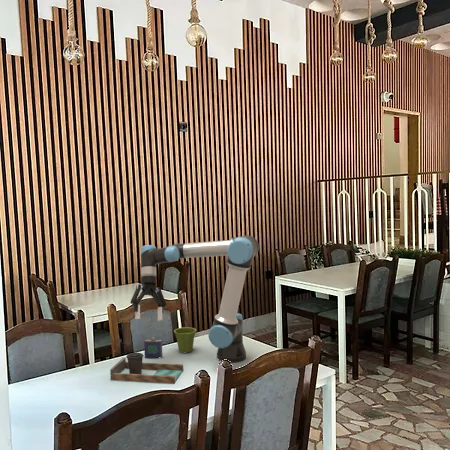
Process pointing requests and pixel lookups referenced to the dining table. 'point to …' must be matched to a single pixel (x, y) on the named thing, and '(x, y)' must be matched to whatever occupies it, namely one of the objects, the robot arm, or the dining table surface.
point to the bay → (162, 375)
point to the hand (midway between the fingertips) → (149, 319)
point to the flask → (153, 348)
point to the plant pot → (185, 338)
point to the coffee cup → (135, 363)
